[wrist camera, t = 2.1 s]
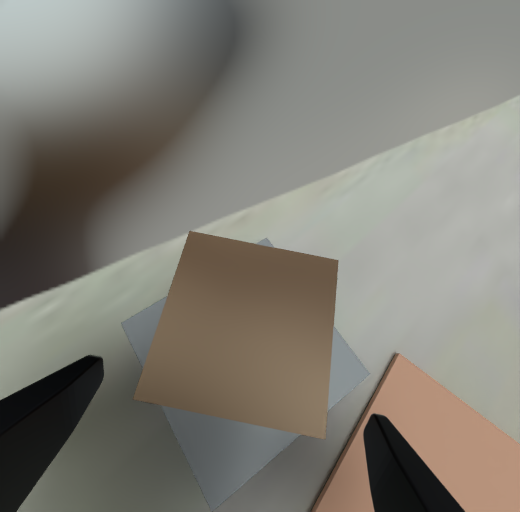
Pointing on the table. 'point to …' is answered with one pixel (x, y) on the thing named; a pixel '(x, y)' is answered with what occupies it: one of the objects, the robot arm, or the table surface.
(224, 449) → the grey ledge
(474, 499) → the terracotta mat
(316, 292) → the walnut block
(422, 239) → the table surface
